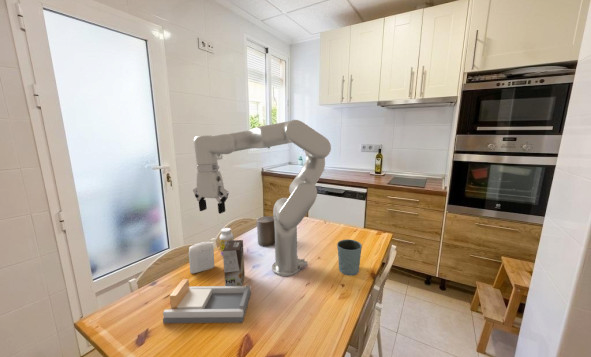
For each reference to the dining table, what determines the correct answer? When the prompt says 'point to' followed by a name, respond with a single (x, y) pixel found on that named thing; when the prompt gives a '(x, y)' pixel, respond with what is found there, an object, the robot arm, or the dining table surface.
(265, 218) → the pillar candle
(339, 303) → the dining table surface
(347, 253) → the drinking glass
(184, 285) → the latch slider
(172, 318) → the rail board
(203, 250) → the photo printer
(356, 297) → the dining table surface
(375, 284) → the dining table surface
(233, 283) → the coffee box
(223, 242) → the supplement bottle
